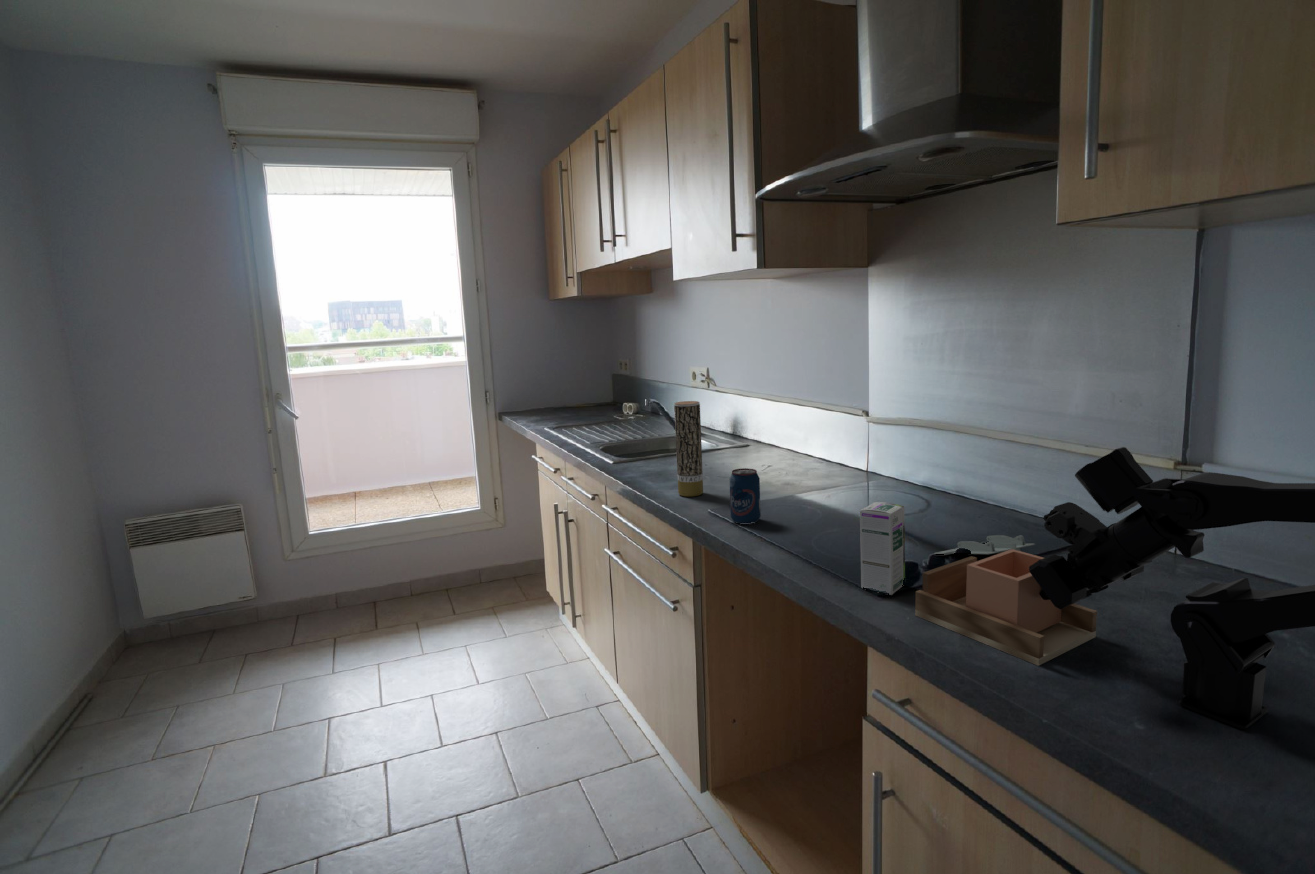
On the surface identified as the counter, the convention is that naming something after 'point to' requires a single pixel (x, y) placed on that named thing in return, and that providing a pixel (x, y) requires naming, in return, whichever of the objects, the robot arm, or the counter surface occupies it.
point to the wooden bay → (949, 610)
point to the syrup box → (882, 546)
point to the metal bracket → (991, 545)
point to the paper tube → (688, 448)
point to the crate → (1009, 591)
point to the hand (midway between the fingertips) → (1042, 596)
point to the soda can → (745, 495)
